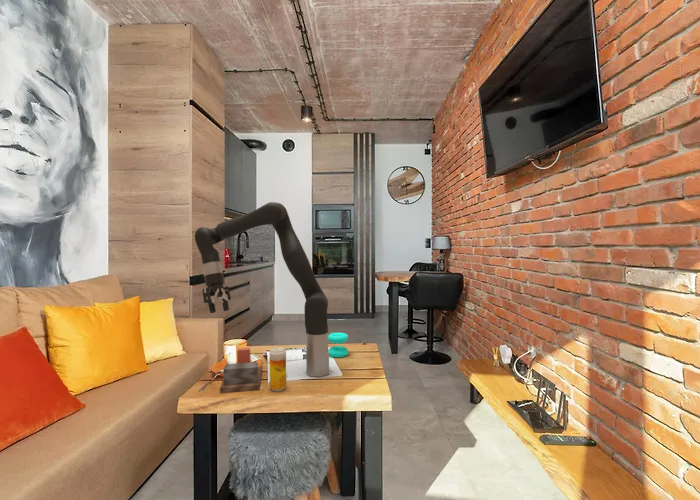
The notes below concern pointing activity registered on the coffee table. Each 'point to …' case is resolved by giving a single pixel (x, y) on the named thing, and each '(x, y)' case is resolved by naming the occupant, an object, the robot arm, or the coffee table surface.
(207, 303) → the robot arm
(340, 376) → the coffee table surface
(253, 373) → the grey and brown block
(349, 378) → the coffee table surface
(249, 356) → the reddish brown block
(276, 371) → the beer glass
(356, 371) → the coffee table surface
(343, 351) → the donuts
